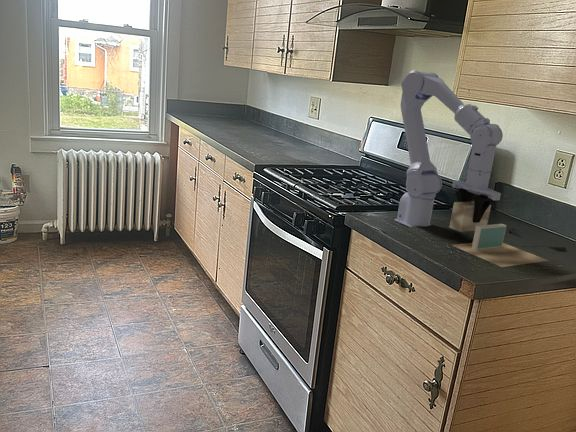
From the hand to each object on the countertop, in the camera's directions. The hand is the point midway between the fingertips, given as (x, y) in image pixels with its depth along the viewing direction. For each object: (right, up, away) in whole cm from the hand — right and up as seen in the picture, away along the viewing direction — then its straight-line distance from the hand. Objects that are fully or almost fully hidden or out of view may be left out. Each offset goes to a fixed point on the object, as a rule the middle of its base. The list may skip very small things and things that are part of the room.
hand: (469, 219), depth 148 cm
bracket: (+19, -7, +9) cm, 23 cm away
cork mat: (+5, -9, -8) cm, 13 cm away
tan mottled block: (0, -2, +1) cm, 2 cm away
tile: (+3, -7, -5) cm, 9 cm away
